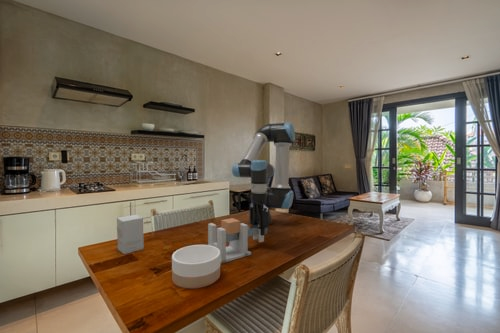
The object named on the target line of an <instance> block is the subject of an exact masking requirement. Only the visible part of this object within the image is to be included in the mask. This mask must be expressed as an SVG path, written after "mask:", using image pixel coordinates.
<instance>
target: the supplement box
mask: <svg viewBox="0 0 500 333" xmlns="http://www.w3.org/2000/svg"><path fill="white" fill-rule="evenodd" d="M116 231H117V232H116V235H117V237H116V238H117V250H118V251H119V252H121V254H123V255H126V254H130V253H134V252H138V251H141V250H144V249H145V244H144V243H145V242H144V241H145V238H144V236H145V235H144V218H143V217H142V216H140V215H138V214H131V215H126V216H121V217H117V218H116Z"/></svg>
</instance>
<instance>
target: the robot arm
mask: <svg viewBox="0 0 500 333" xmlns="http://www.w3.org/2000/svg"><path fill="white" fill-rule="evenodd" d="M295 132H296V131H295V128H294V125H293V124H292V123H291V122H282V123H281V122H278V123H267V124H264V125H263V126H261V127H260V128H259V129H258V130H256V132H255V133H254V134H253V137H252V139H253V140H252V141H251V143H250V145H249V147H247V150H246V152H245V153H244V155H243V156H242V159H241V160H240V162H237V163H234V164H233V165H232V168H231V173H232V175H233V176H234V177H235V178H250V182H251V184H250V187H251V188H250V192H251V193H250V200H251V203H248V208H249V219H248V223H249V224H250V225H251V226H253V225H257V224H260V228H259V234H258V235H254V236H252V240H258V243H263V242H265V235H266V234H265V228H269V225H272V224H273V219H272V214H271V211H270V208H271V209H280V210H289V209H290V208H291V207H292V206H293V205H292V204H293V200H294V191H293V190H292V188H291V186H290V185H289V172H290V148H291V146H292V145H293V142H294V141H296V133H295ZM268 143H273V145H274V146H275V164H274V165H275V167H274V165H272V164H271V163H268V162H267V160H265V159H263V160H262V159H261V160H260V159H258V158H259V156H260V154H261V152H262V150H263V148H264V146H266V145H267V144H268ZM273 176H274V185H272V188H271V189H270V186H268V183H267V181H268V180H267V179H270V178H272V177H273Z"/></svg>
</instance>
